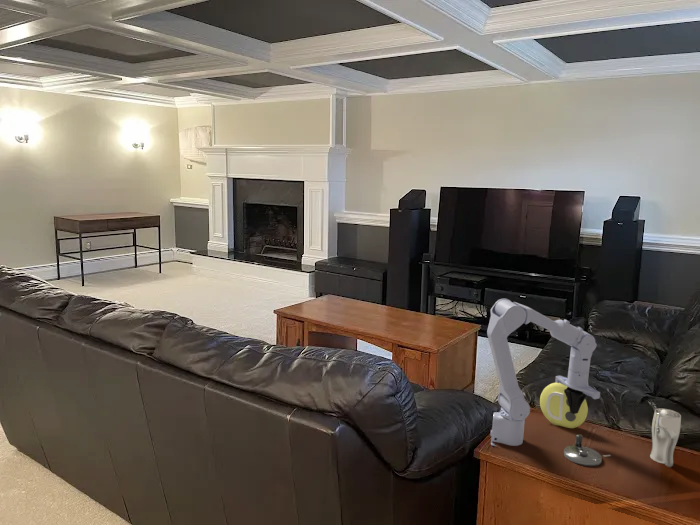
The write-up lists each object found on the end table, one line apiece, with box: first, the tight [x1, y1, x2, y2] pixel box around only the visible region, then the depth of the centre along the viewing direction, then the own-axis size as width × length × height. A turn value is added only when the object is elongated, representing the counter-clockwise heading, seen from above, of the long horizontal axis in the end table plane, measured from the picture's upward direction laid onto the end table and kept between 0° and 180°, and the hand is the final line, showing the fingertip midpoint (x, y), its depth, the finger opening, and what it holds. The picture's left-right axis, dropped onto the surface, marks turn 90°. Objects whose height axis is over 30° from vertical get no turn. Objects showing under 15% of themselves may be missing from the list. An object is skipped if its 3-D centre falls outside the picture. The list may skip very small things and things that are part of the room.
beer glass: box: [649, 408, 682, 468], centre depth 156 cm, size 7×7×15 cm
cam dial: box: [563, 433, 603, 467], centre depth 156 cm, size 11×10×4 cm
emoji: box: [539, 382, 589, 429], centre depth 176 cm, size 5×15×15 cm
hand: (573, 412), depth 166 cm, fingers closed
